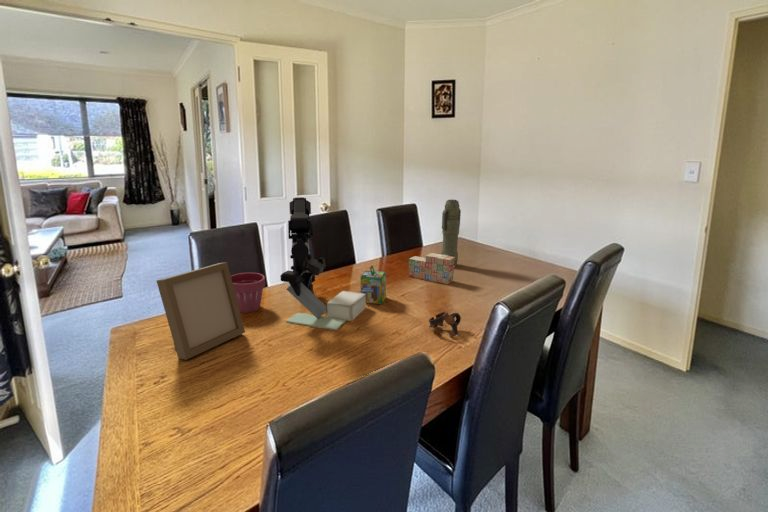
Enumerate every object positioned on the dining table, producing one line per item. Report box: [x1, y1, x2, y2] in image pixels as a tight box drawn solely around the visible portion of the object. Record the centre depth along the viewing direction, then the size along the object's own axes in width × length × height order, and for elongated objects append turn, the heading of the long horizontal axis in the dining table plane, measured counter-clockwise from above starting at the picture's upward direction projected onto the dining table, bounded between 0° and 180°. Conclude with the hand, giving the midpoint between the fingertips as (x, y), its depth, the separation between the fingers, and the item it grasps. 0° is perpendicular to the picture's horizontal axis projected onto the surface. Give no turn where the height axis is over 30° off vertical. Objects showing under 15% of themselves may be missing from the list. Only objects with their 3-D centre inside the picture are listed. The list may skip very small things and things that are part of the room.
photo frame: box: [156, 261, 246, 360], centre depth 134 cm, size 15×22×25 cm
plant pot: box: [231, 272, 266, 314], centre depth 163 cm, size 14×14×13 cm
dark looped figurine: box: [428, 311, 462, 339], centre depth 147 cm, size 12×10×8 cm
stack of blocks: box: [408, 252, 455, 285], centre depth 201 cm, size 21×6×12 cm, turn 57°
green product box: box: [359, 264, 387, 305], centre depth 173 cm, size 9×9×15 cm
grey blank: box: [285, 282, 327, 319], centre depth 154 cm, size 16×4×4 cm
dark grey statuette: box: [440, 199, 462, 267], centre depth 221 cm, size 9×12×35 cm
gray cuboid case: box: [326, 290, 367, 322], centre depth 162 cm, size 10×14×6 cm
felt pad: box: [286, 312, 347, 331], centre depth 153 cm, size 20×8×1 cm, turn 71°
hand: (302, 293), depth 153 cm, fingers closed on grey blank, 5 cm apart
